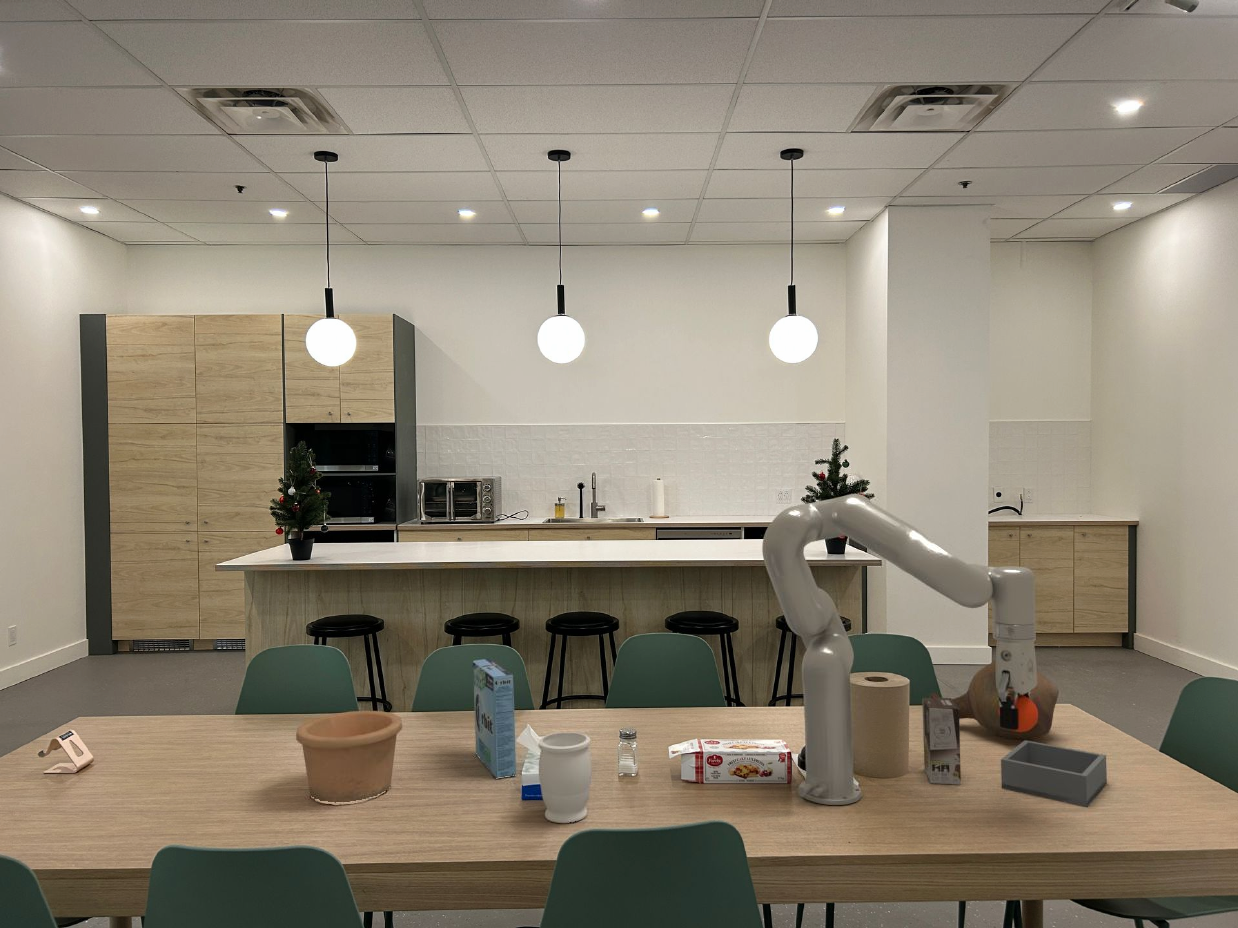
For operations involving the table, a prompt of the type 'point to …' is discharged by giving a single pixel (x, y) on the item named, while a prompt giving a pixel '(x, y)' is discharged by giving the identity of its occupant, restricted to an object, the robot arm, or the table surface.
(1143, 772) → the table surface
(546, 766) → the jar
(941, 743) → the coffee box
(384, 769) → the pottery
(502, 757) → the gum box
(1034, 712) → the clementine
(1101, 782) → the bin
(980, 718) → the jug
